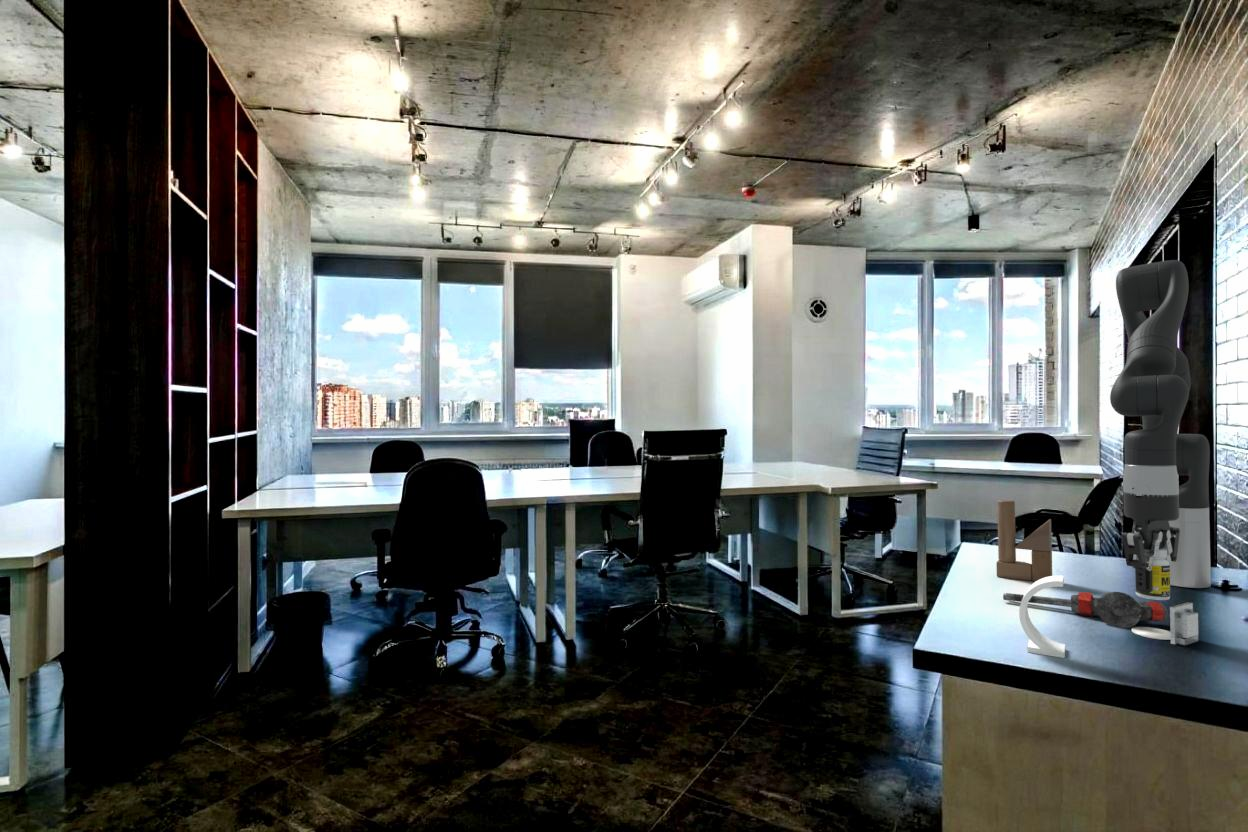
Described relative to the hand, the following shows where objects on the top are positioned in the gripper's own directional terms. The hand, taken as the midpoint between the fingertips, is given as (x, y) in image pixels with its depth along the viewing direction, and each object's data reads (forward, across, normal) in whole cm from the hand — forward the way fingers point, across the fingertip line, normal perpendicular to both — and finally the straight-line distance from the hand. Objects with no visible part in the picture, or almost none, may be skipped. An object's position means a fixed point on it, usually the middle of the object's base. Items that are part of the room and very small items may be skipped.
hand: (1152, 588), depth 114 cm
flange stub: (+8, 0, +4) cm, 9 cm away
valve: (+8, -4, -14) cm, 16 cm away
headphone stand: (+8, +24, -4) cm, 26 cm away
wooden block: (+8, -19, -34) cm, 40 cm away
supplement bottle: (+2, 0, 0) cm, 2 cm away
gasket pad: (+8, 0, 0) cm, 8 cm away
